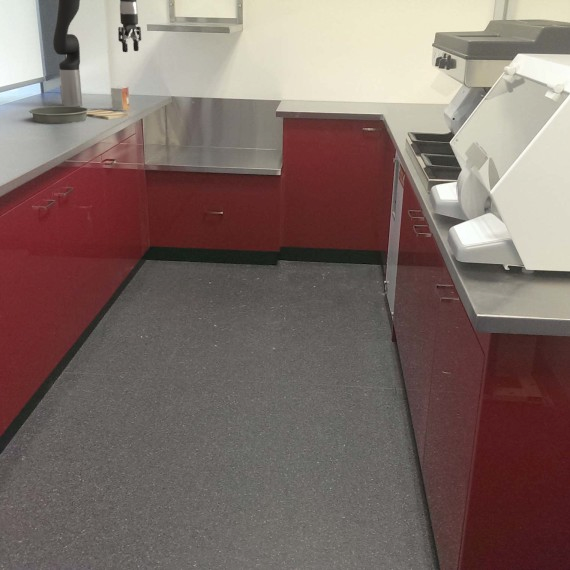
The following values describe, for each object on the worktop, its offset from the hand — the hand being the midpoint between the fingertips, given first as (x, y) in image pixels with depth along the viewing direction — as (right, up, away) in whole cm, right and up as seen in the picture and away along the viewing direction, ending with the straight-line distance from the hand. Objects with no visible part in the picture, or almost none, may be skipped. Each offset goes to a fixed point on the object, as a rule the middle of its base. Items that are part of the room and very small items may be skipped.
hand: (130, 51), depth 305 cm
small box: (-9, -21, +21) cm, 31 cm away
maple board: (-13, -28, +4) cm, 31 cm away
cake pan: (-28, -34, -10) cm, 45 cm away
